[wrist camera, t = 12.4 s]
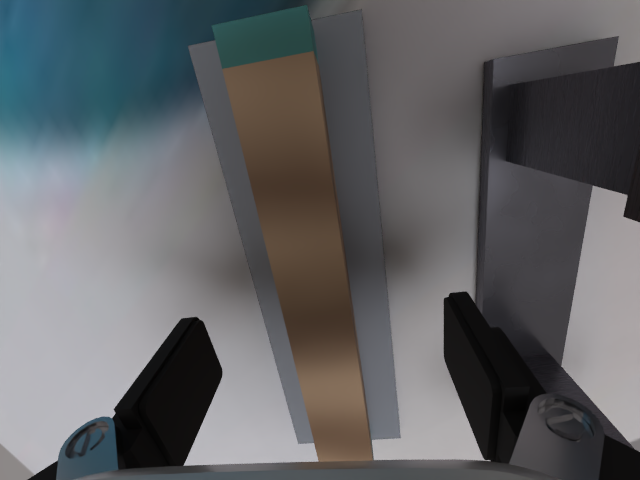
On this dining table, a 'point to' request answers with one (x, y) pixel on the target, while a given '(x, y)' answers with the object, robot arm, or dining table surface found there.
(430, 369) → the dining table surface
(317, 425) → the rail
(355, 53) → the mat
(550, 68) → the bracket
